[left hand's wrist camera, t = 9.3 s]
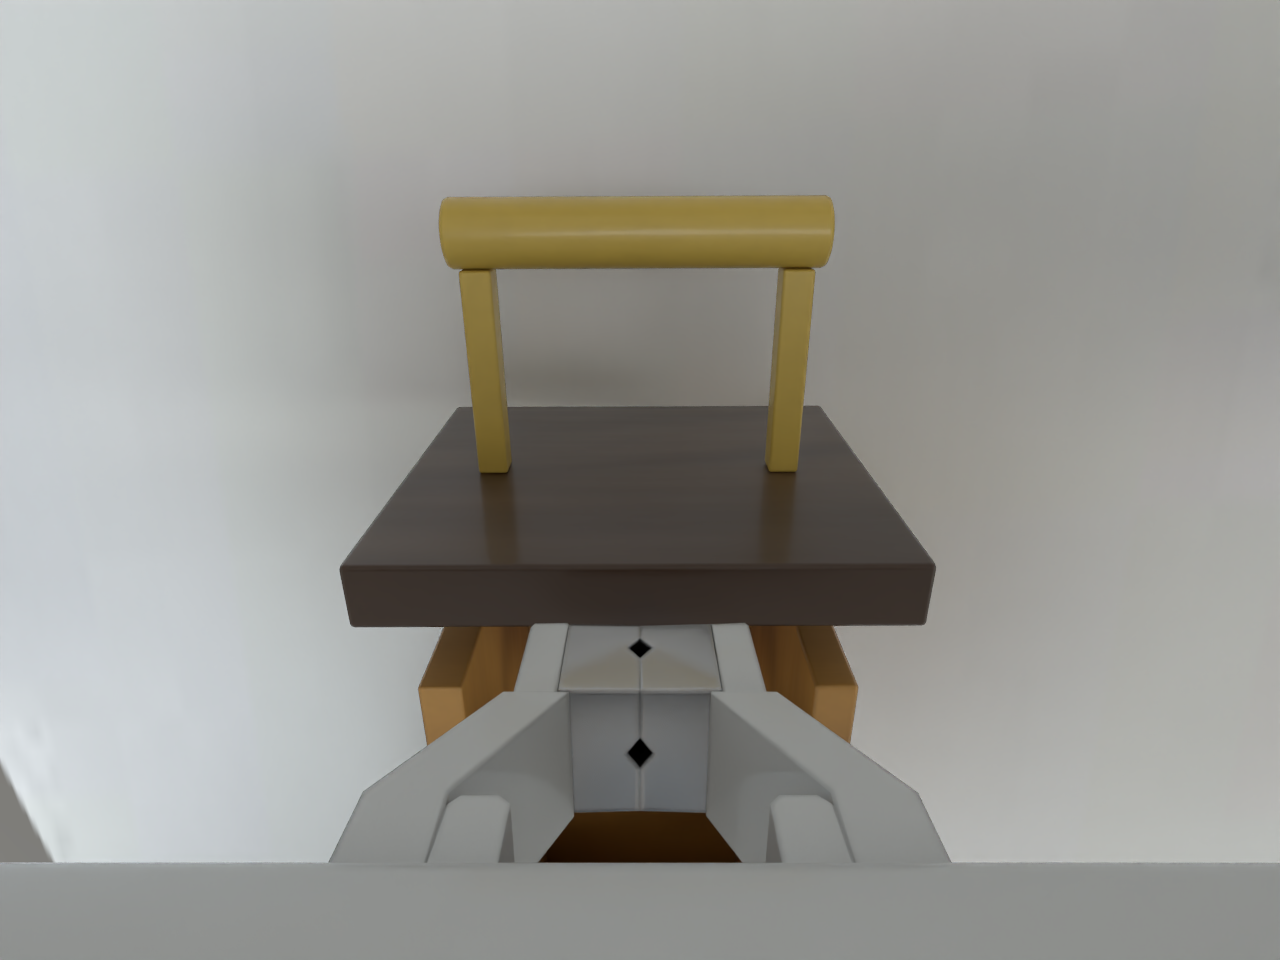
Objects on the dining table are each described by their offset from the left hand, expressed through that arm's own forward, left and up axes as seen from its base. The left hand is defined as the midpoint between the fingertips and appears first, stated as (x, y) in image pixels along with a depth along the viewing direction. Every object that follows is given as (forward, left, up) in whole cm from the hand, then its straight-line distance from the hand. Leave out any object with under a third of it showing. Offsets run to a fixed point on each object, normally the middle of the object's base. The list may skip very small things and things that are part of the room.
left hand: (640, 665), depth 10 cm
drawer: (+5, 0, -10) cm, 12 cm away
